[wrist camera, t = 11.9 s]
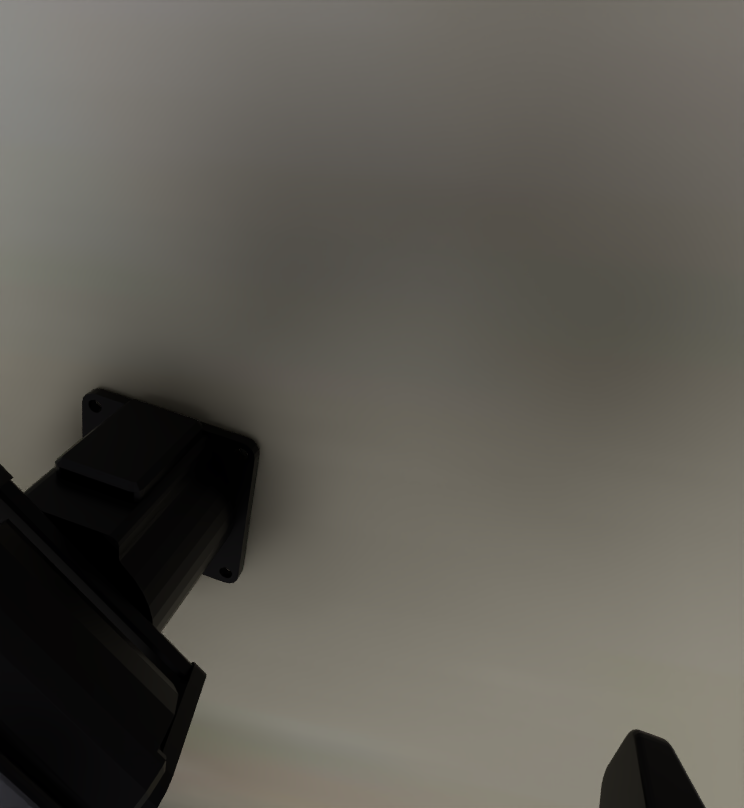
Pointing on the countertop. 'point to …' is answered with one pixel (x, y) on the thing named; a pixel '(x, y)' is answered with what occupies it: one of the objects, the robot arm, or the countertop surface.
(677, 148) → the countertop surface
